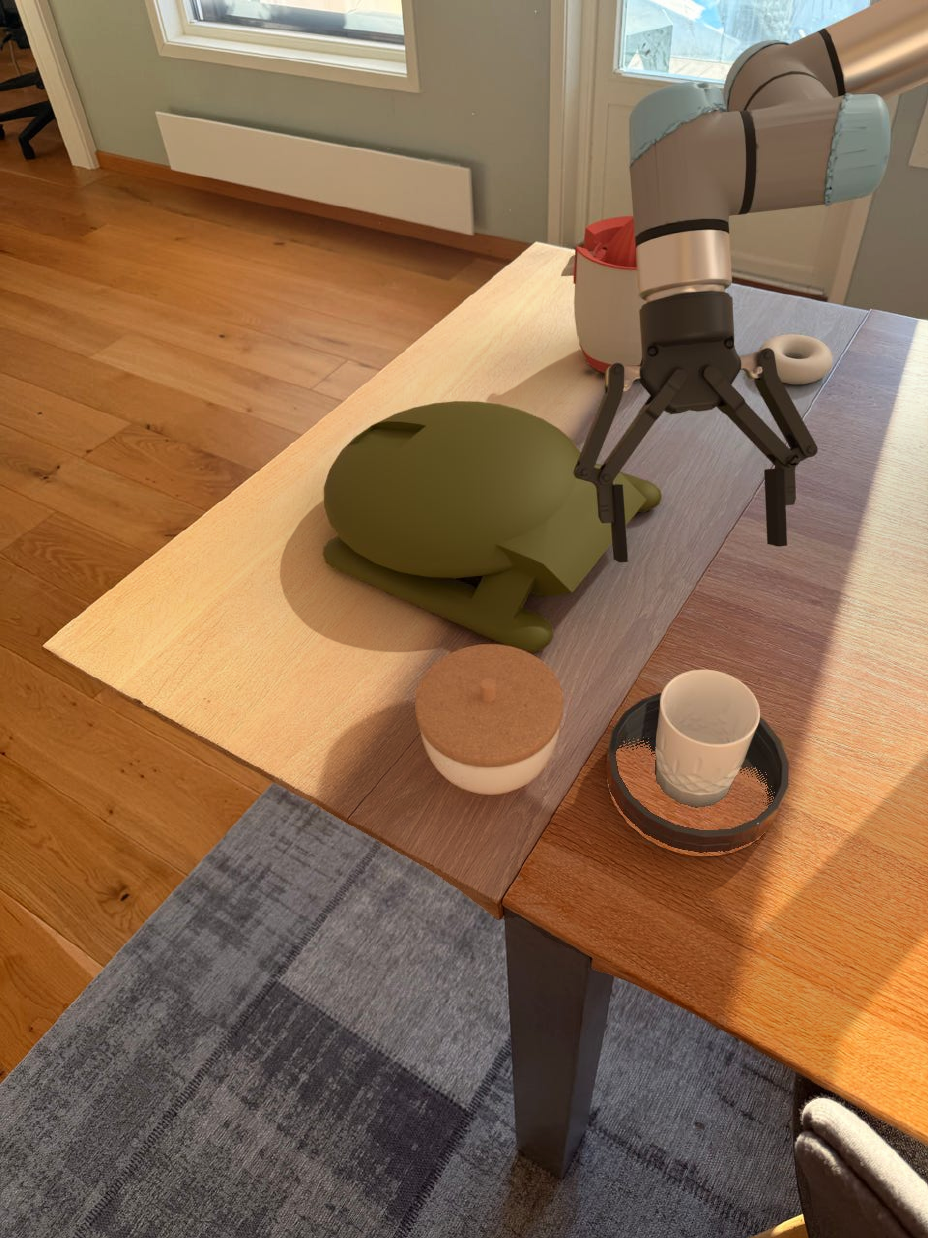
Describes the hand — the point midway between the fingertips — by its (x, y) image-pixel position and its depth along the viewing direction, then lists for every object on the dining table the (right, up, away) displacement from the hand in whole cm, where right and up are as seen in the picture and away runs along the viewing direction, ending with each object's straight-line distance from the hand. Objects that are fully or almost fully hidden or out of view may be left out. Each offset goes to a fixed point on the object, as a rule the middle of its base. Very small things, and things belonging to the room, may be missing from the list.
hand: (698, 553), depth 78 cm
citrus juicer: (+2, +32, +52) cm, 61 cm away
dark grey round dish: (0, -20, +3) cm, 20 cm away
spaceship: (-19, +5, +28) cm, 35 cm away
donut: (+25, +29, +48) cm, 61 cm away
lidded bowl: (-18, -19, +5) cm, 26 cm away
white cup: (0, -20, +2) cm, 20 cm away
